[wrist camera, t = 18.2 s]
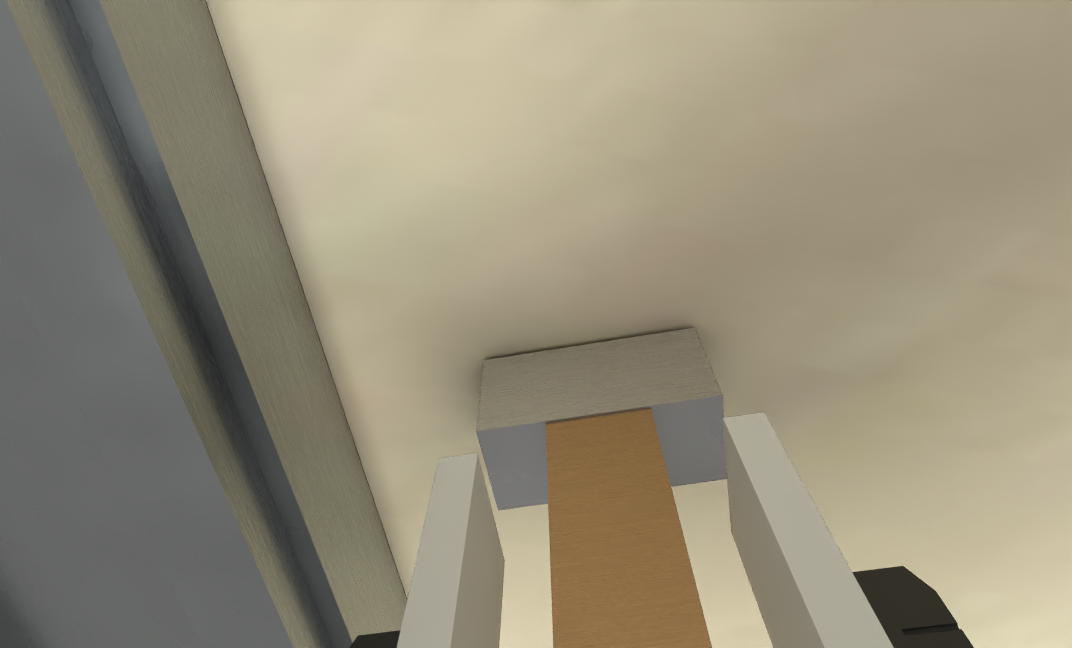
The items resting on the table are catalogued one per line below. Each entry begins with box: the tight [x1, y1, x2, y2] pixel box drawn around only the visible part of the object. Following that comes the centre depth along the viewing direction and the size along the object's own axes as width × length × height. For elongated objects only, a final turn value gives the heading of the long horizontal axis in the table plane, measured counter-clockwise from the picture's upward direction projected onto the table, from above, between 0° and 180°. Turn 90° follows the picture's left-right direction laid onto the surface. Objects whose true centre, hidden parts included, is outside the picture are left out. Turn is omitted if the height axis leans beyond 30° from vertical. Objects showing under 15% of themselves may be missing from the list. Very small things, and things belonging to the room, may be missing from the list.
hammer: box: [476, 328, 727, 648], centre depth 14 cm, size 6×2×12 cm, turn 100°
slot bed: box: [0, 0, 407, 648], centre depth 17 cm, size 12×20×6 cm, turn 10°
